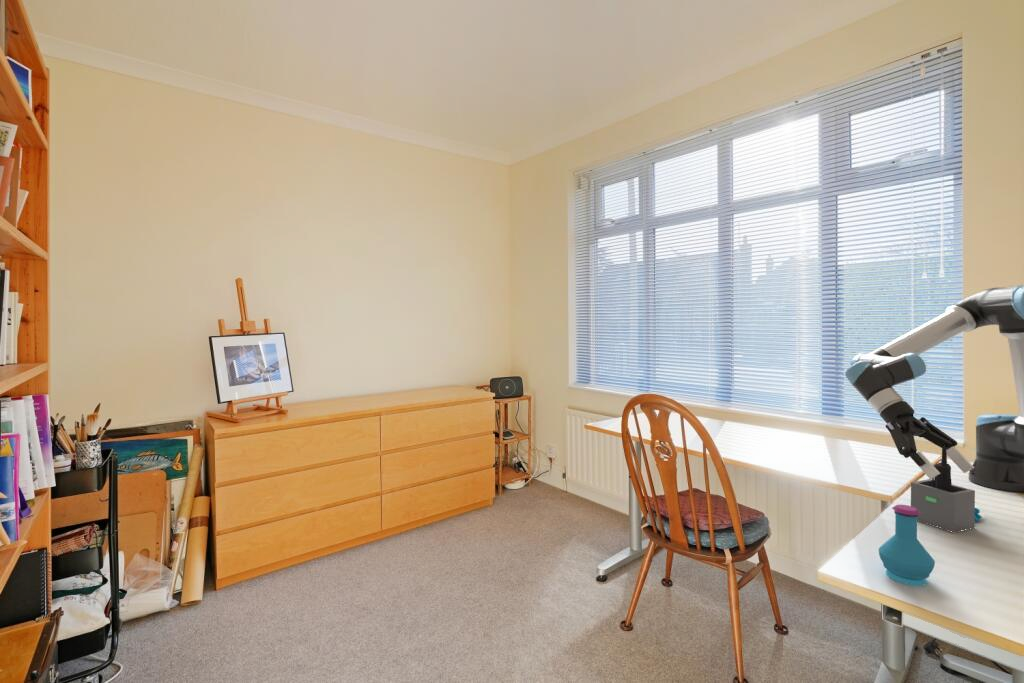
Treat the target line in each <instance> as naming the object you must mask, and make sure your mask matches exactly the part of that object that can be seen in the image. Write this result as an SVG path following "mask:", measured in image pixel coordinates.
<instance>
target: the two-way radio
mask: <svg viewBox="0 0 1024 683" xmlns="http://www.w3.org/2000/svg"><path fill="white" fill-rule="evenodd" d="M947 457H948V456H947V453H946V447H944V446H943V447H942V448H941V459H940V462H937V463H935V464H932V465H933V466H934V467H935V468H936V469H937V470H938V471H939V472H940V473H941V474H939V475H937V476H936V477H934V478H932V485H933V487H935V488H937V489H941V490H945V491H948V492H952V487H951V484H952V483H953V482H952V474H951V473H952V467H951V465H950V464H949V463H948V458H947ZM952 485H953V484H952Z"/></svg>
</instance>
